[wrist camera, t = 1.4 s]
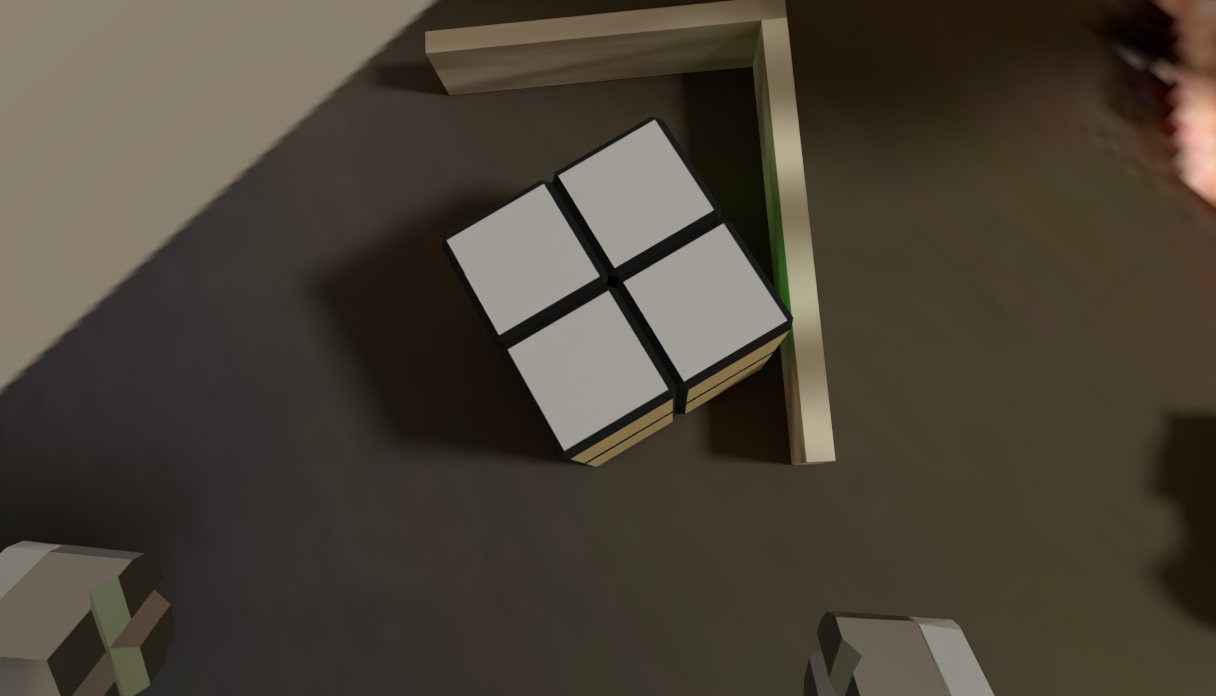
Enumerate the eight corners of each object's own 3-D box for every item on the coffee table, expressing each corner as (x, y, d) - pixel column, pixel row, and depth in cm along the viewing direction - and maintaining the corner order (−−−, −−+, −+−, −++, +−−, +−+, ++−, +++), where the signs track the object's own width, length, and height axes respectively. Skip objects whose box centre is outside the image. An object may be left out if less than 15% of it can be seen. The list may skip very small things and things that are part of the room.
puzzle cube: (495, 301, 38) (434, 237, 28) (661, 204, 38) (657, 107, 29) (591, 470, 36) (561, 464, 26) (766, 366, 36) (800, 322, 27)
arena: (817, 463, 35) (835, 460, 31) (454, 483, 37) (427, 483, 33) (773, 43, 39) (784, -5, 36) (449, 75, 41) (425, 31, 37)
